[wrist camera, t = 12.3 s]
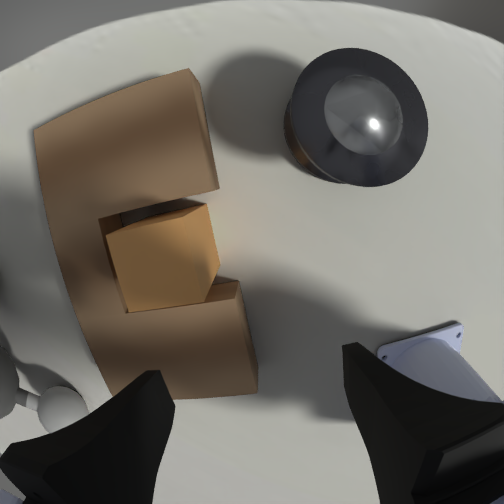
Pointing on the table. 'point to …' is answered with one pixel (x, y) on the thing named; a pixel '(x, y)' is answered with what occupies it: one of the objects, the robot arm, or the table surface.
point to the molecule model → (39, 399)
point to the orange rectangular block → (165, 259)
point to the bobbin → (356, 119)
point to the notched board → (108, 220)
